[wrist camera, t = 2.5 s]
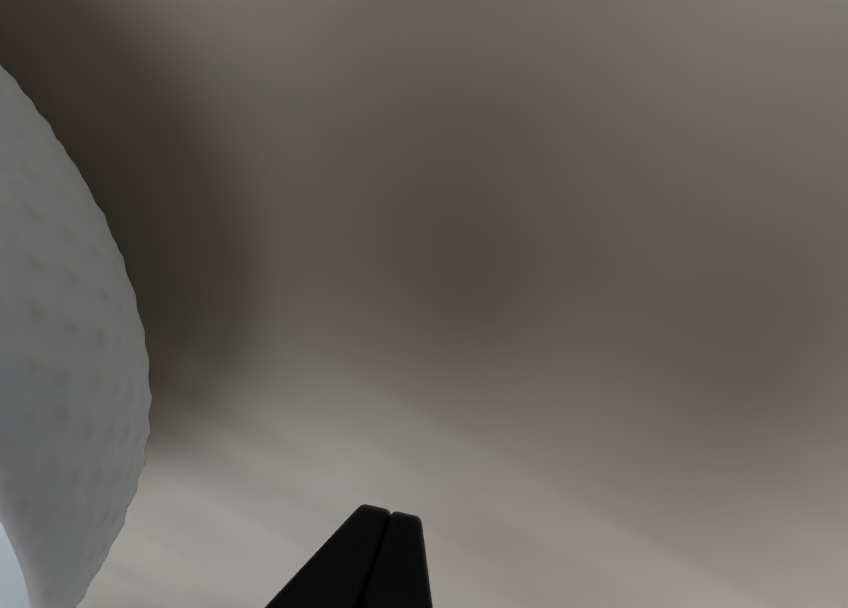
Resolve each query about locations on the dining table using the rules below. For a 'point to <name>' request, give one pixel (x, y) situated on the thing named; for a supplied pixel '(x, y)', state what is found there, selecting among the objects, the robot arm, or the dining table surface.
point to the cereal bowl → (61, 370)
